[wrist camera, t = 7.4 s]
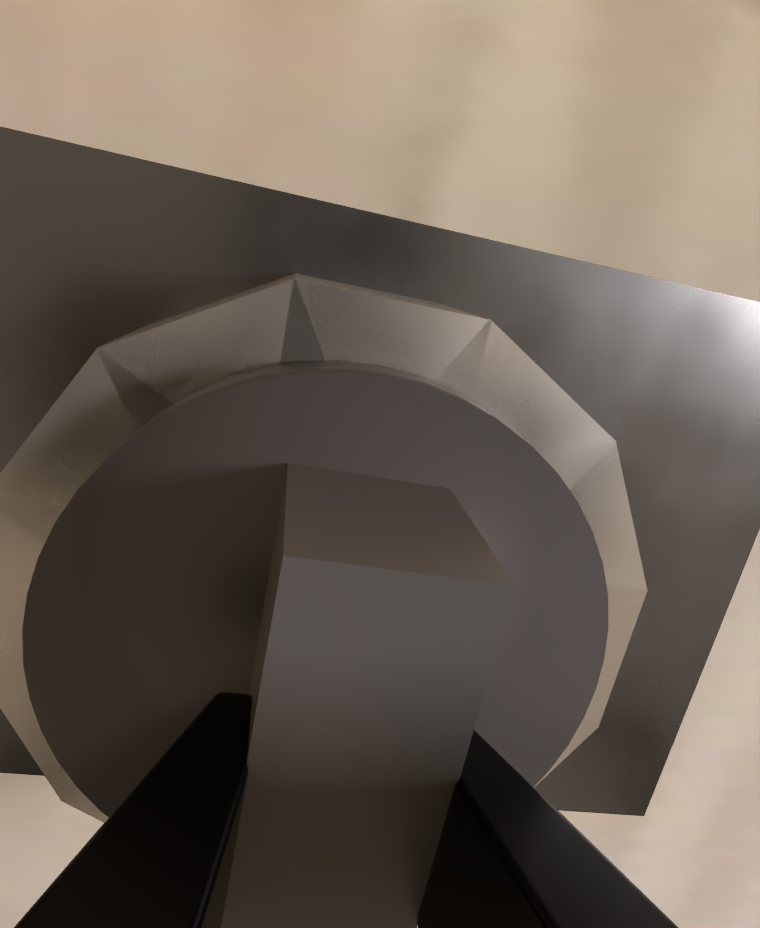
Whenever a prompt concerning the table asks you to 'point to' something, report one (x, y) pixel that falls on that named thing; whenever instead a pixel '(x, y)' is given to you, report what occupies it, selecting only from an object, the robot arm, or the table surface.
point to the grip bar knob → (319, 621)
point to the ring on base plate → (395, 346)
